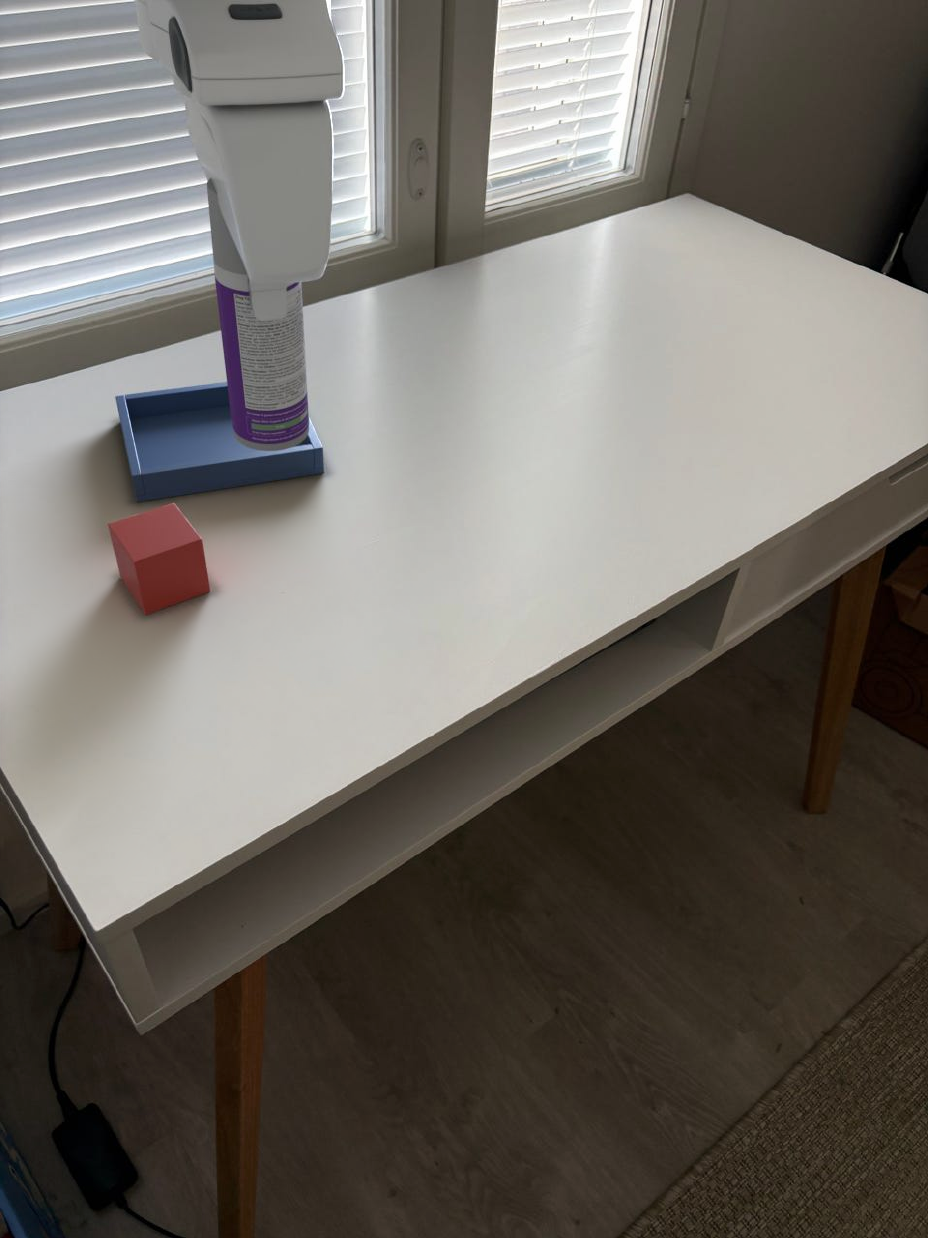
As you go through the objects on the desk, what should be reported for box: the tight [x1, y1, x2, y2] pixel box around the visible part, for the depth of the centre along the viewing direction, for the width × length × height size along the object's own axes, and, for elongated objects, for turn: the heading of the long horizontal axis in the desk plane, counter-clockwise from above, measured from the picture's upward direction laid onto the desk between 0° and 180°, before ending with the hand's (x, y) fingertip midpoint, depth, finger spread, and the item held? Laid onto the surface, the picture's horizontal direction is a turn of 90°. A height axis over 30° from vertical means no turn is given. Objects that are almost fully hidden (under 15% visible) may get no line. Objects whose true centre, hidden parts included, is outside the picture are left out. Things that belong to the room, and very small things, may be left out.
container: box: [206, 178, 310, 451], centre depth 58 cm, size 5×5×15 cm
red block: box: [107, 502, 211, 616], centre depth 73 cm, size 5×5×5 cm
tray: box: [114, 381, 325, 503], centre depth 88 cm, size 16×13×3 cm
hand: (258, 290), depth 56 cm, fingers closed on container, 5 cm apart
